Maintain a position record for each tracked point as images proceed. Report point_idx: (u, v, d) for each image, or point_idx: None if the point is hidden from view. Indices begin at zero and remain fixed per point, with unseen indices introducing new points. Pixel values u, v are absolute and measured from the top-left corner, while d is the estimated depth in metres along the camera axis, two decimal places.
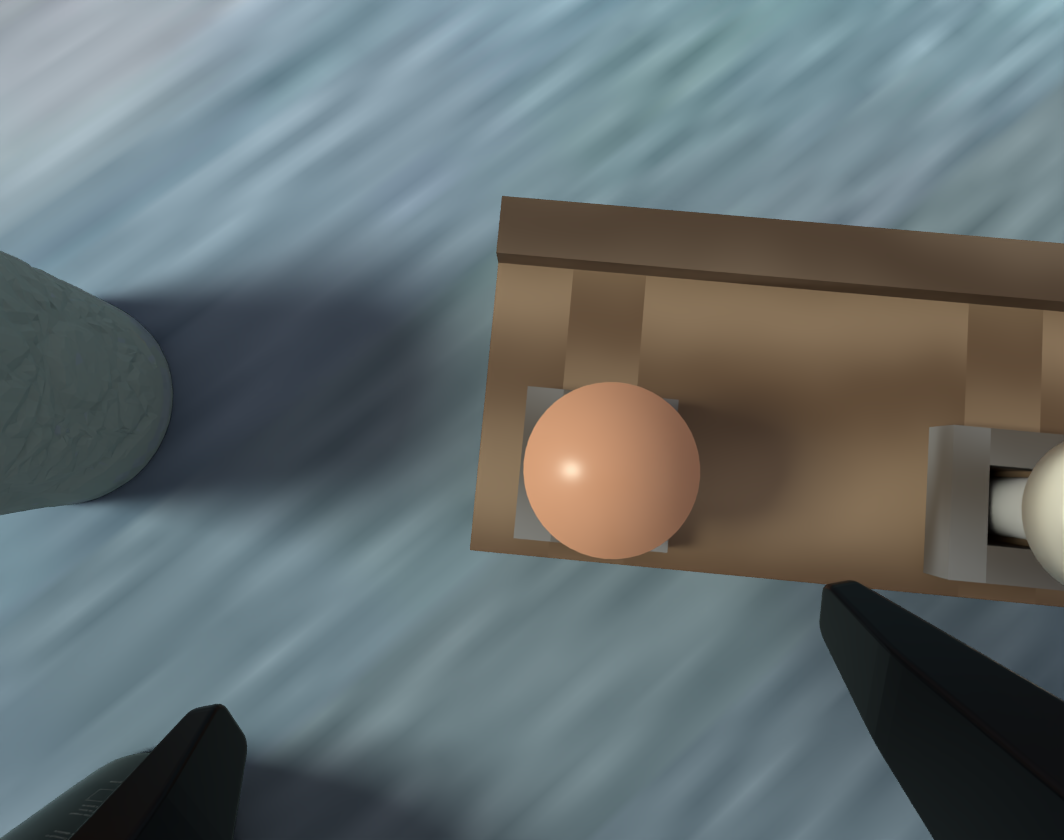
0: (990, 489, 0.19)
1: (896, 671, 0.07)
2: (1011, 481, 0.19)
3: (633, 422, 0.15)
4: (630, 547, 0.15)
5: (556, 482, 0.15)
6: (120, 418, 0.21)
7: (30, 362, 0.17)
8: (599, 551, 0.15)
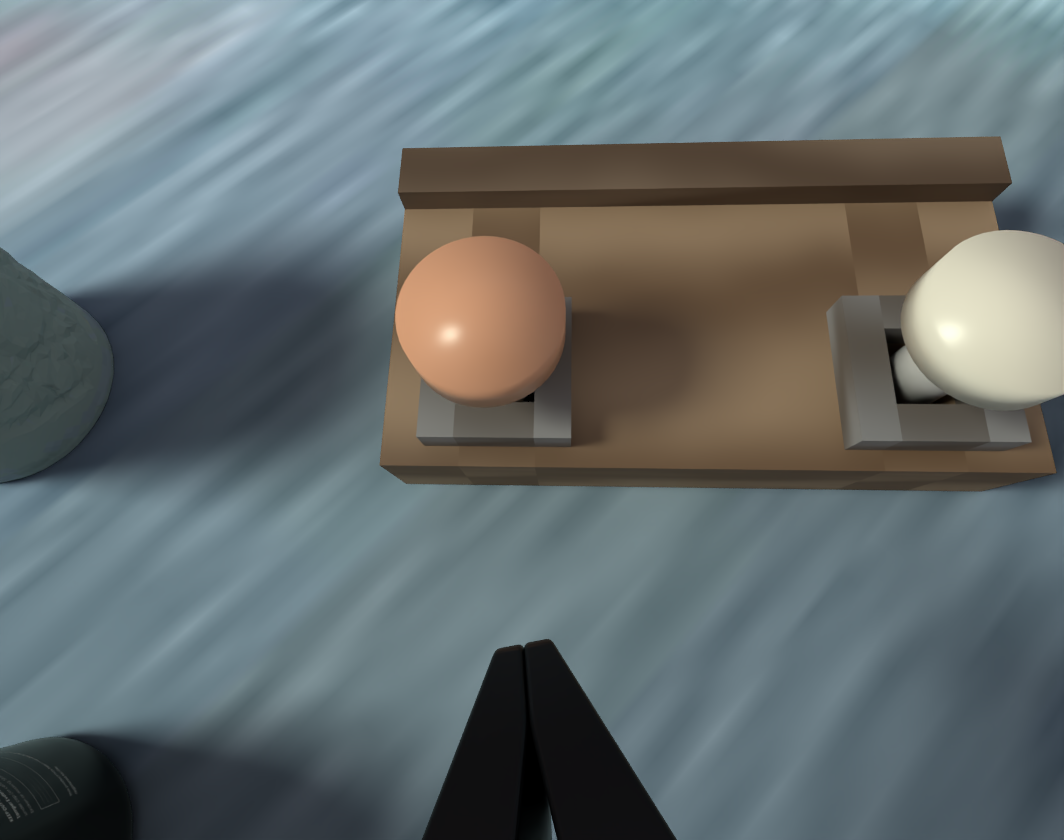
0: (893, 356, 0.19)
1: (534, 742, 0.07)
2: None
3: (499, 268, 0.16)
4: (501, 378, 0.15)
5: (427, 326, 0.15)
6: (51, 375, 0.22)
7: None
8: (470, 384, 0.15)
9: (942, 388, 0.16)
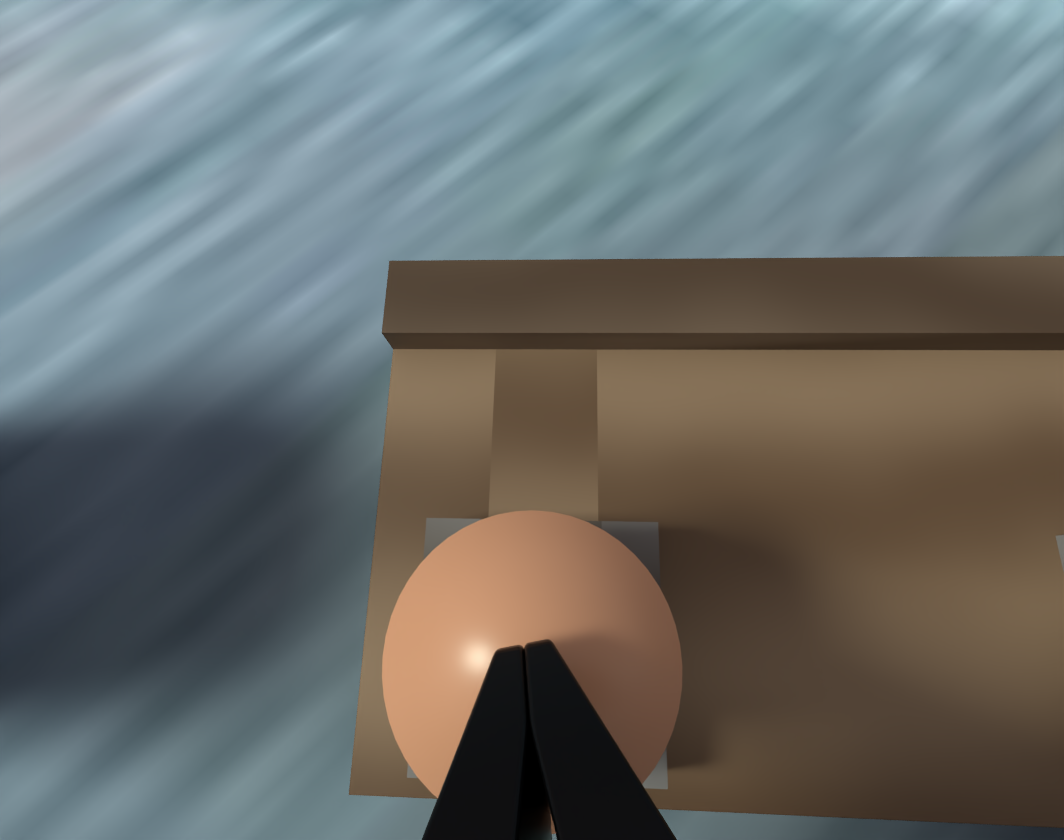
0: None
1: (534, 743, 0.07)
2: None
3: (561, 575, 0.09)
4: None
5: (437, 690, 0.09)
6: None
7: None
8: None
9: None
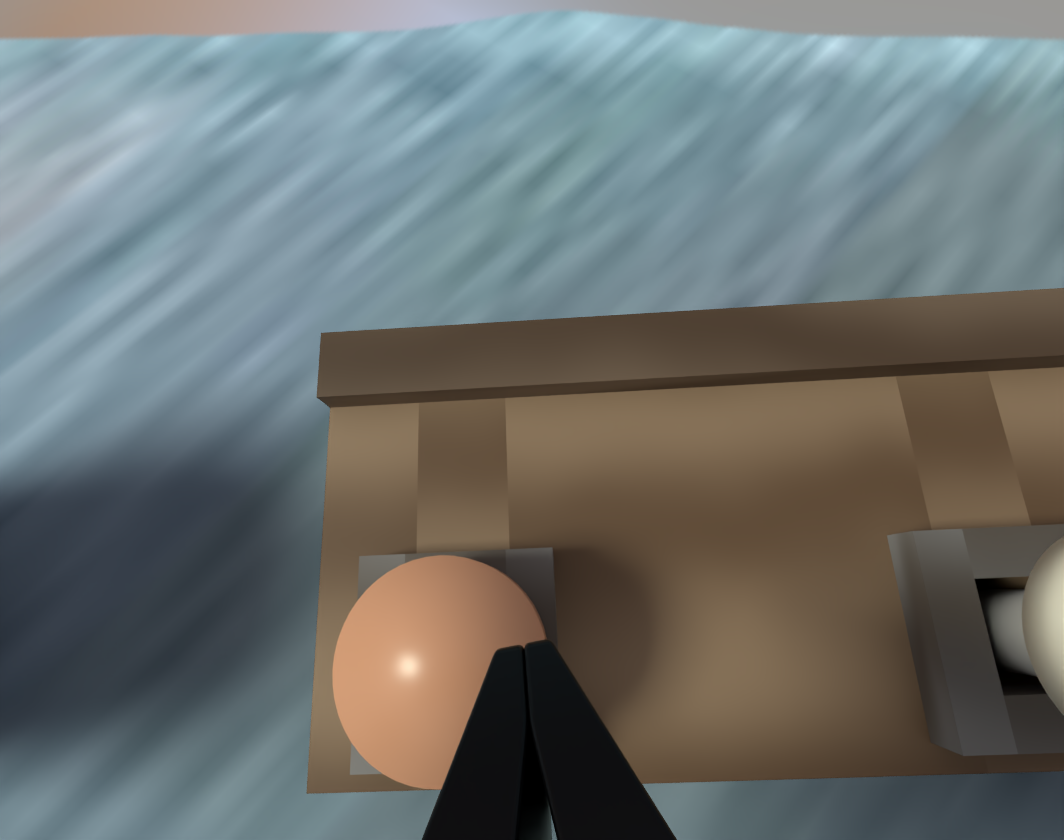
0: (986, 611, 0.14)
1: (534, 742, 0.07)
2: (1010, 597, 0.14)
3: (460, 602, 0.13)
4: None
5: (373, 692, 0.12)
6: None
7: None
8: (431, 779, 0.12)
9: None
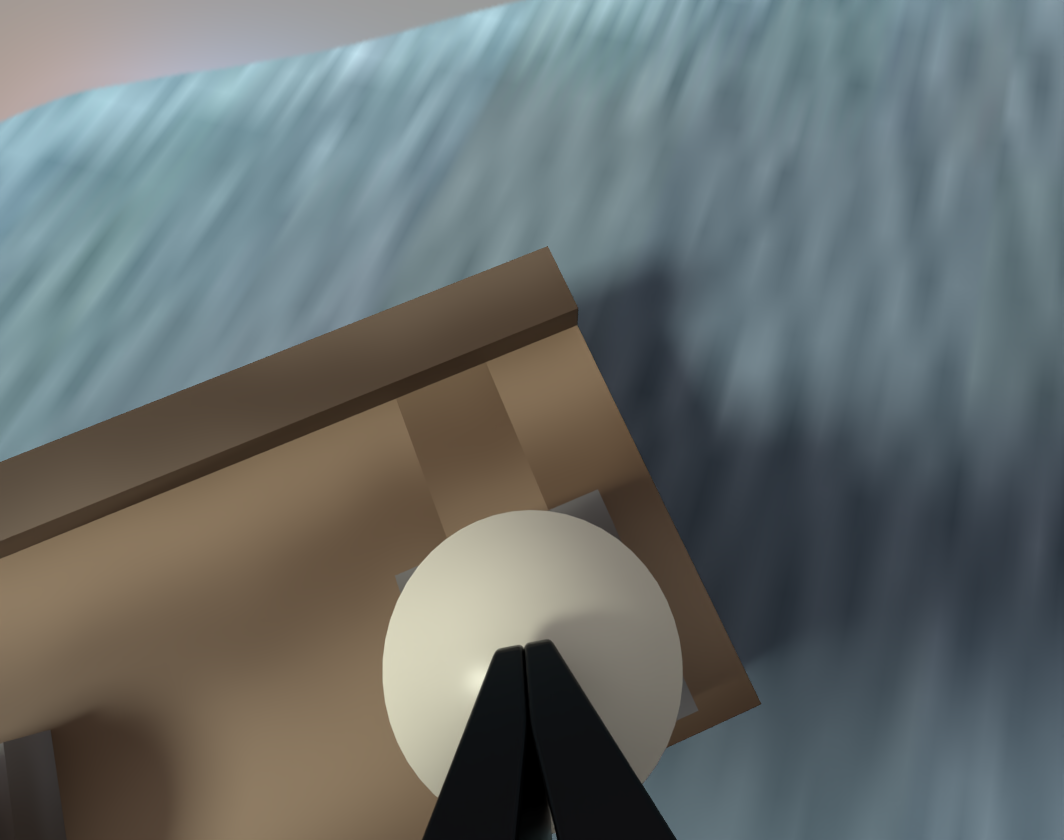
0: None
1: (534, 742, 0.07)
2: None
3: None
4: None
5: None
6: None
7: None
8: None
9: None
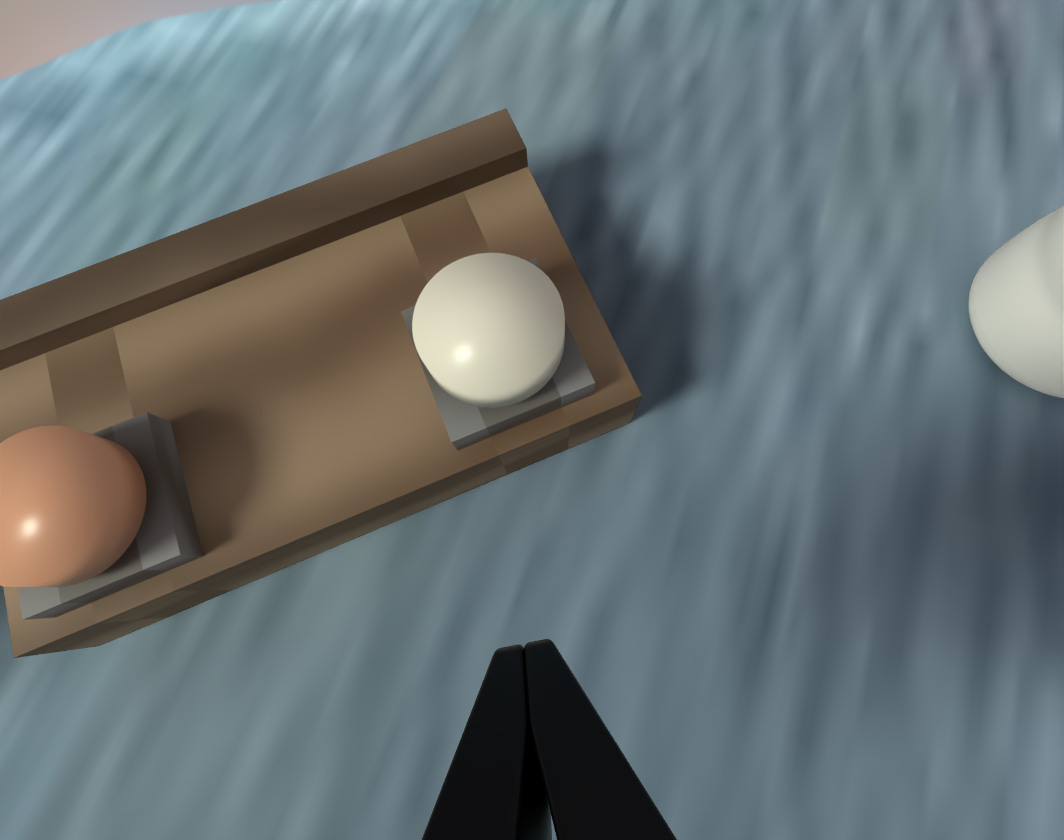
0: None
1: (534, 742, 0.07)
2: None
3: (42, 456, 0.17)
4: (66, 559, 0.16)
5: None
6: None
7: None
8: (40, 576, 0.16)
9: (467, 403, 0.18)
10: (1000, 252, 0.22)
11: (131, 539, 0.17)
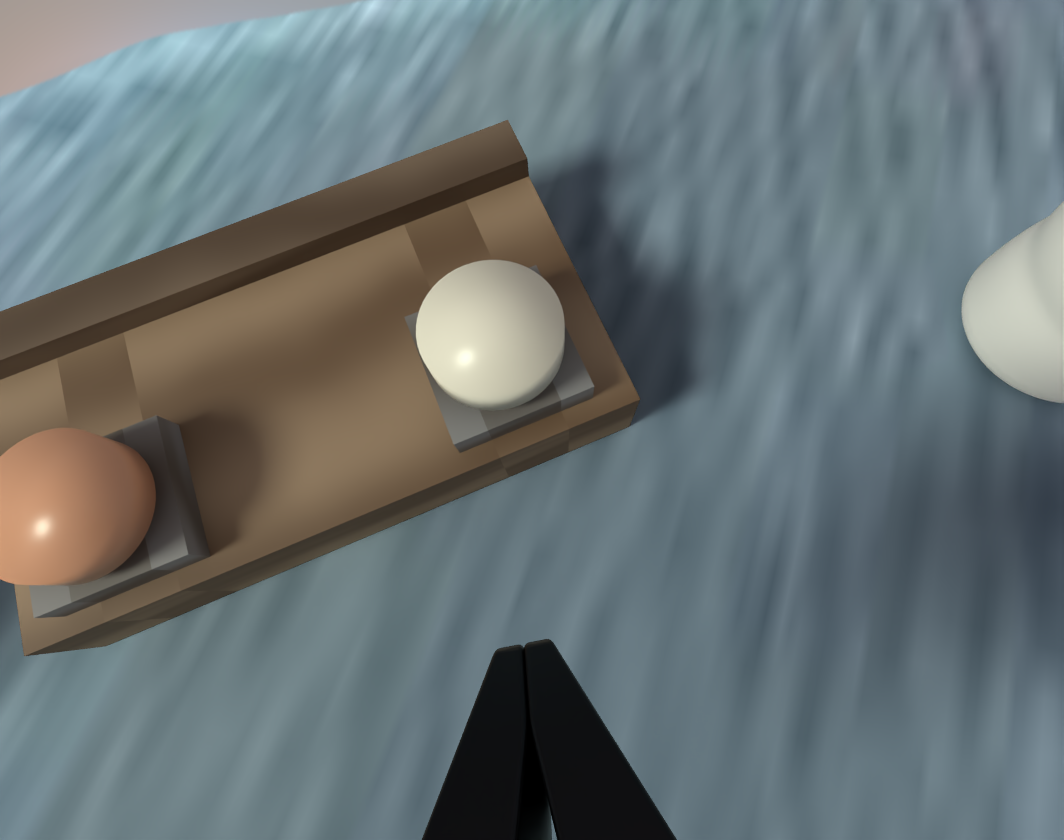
0: None
1: (534, 742, 0.07)
2: None
3: (55, 458, 0.17)
4: (78, 557, 0.16)
5: (1, 537, 0.17)
6: None
7: None
8: (52, 574, 0.16)
9: (469, 406, 0.18)
10: (991, 259, 0.23)
11: (140, 539, 0.18)
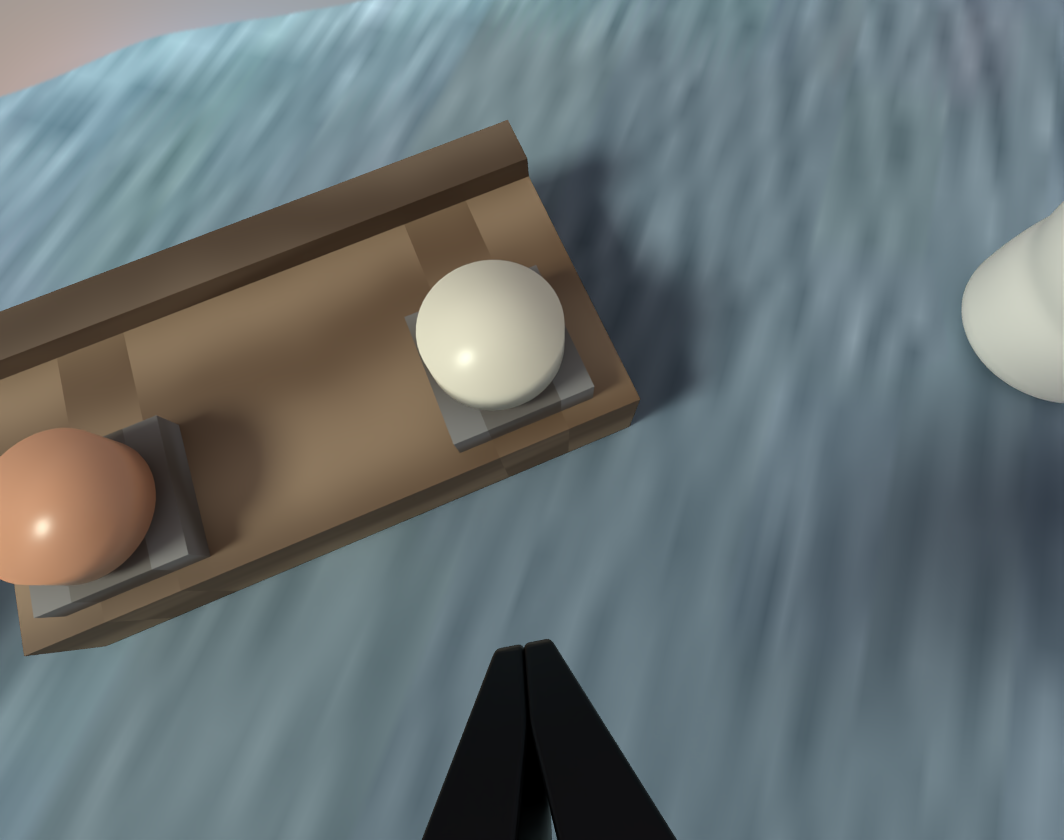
0: None
1: (534, 742, 0.07)
2: None
3: (55, 458, 0.17)
4: (78, 557, 0.16)
5: (1, 537, 0.17)
6: None
7: None
8: (52, 574, 0.16)
9: (469, 406, 0.18)
10: (991, 259, 0.23)
11: (140, 539, 0.18)
